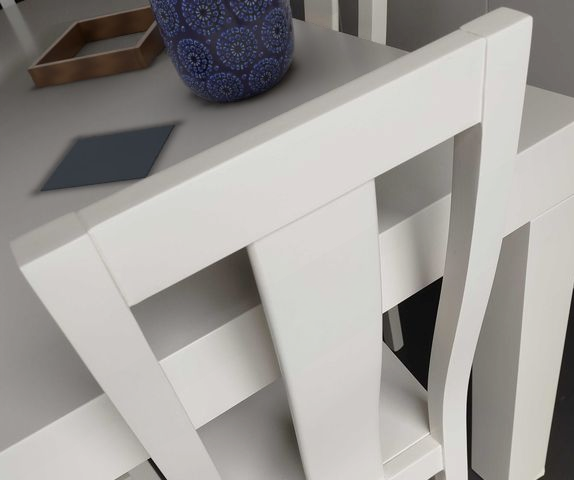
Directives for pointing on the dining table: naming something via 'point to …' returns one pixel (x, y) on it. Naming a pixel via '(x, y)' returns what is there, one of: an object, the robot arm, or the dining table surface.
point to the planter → (227, 44)
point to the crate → (64, 68)
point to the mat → (109, 158)
